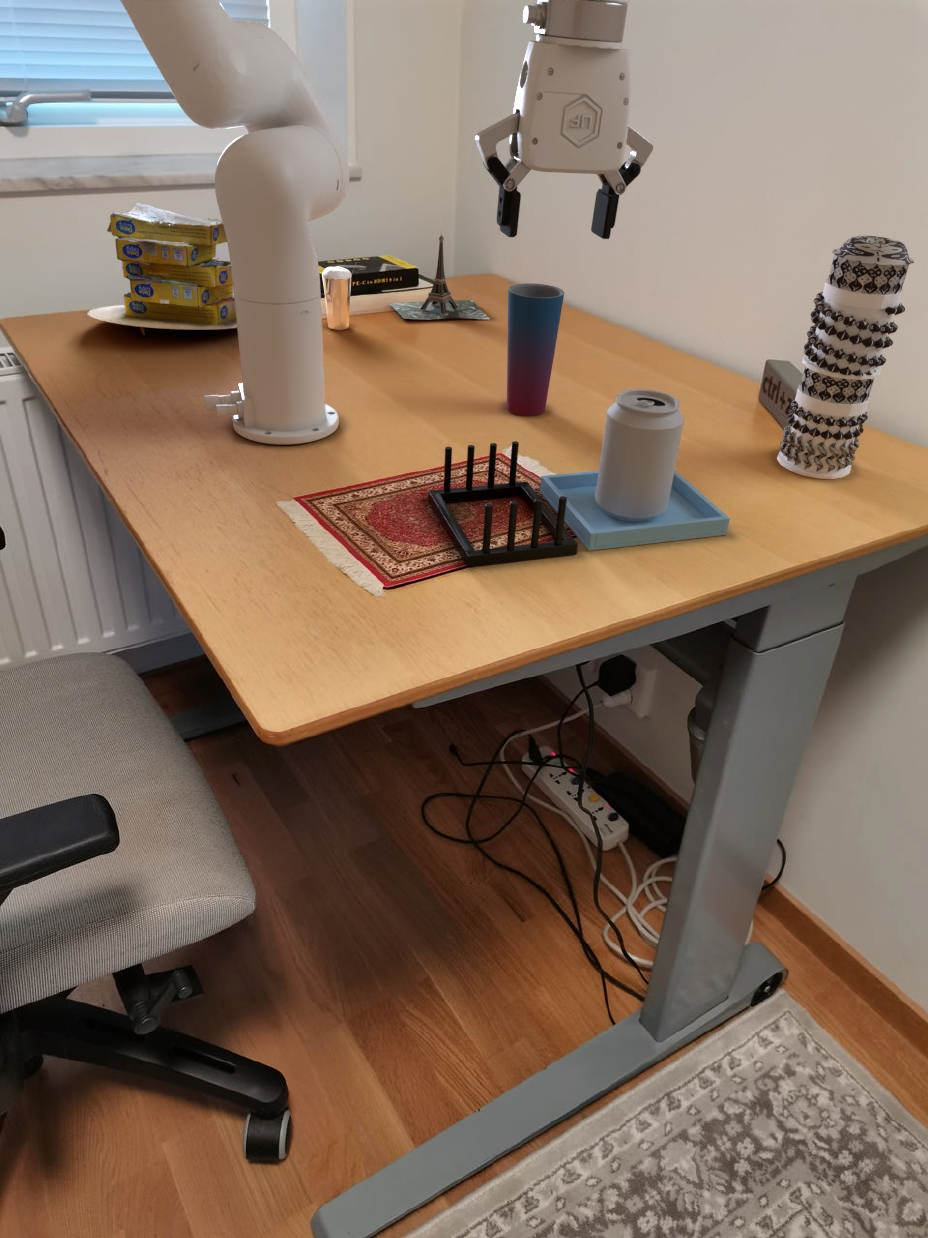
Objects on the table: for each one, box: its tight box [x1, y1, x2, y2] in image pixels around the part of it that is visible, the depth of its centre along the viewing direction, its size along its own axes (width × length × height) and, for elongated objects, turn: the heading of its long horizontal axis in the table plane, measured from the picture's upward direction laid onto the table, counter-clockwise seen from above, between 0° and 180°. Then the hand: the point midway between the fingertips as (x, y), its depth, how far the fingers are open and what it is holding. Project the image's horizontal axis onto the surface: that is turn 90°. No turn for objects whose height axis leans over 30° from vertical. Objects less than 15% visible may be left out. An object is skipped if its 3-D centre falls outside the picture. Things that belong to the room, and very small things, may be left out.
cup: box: [506, 282, 565, 417], centre depth 114 cm, size 7×7×15 cm
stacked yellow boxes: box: [87, 202, 237, 336], centre depth 135 cm, size 25×25×17 cm
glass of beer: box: [321, 261, 357, 331], centre depth 141 cm, size 5×5×10 cm
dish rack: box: [427, 440, 579, 568], centre depth 89 cm, size 11×14×6 cm
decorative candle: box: [776, 235, 915, 480], centre depth 100 cm, size 9×9×25 cm
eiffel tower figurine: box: [389, 228, 491, 321], centre depth 150 cm, size 15×10×13 cm
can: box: [595, 388, 685, 522], centre depth 91 cm, size 8×8×12 cm
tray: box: [539, 470, 731, 552], centre depth 94 cm, size 15×13×2 cm
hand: (554, 234), depth 88 cm, fingers open, 9 cm apart
